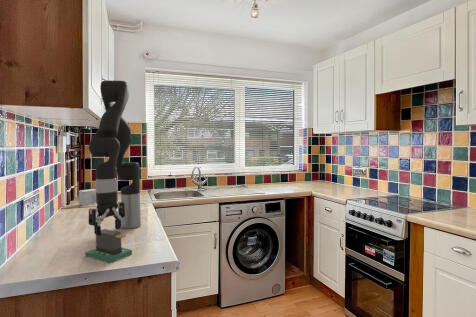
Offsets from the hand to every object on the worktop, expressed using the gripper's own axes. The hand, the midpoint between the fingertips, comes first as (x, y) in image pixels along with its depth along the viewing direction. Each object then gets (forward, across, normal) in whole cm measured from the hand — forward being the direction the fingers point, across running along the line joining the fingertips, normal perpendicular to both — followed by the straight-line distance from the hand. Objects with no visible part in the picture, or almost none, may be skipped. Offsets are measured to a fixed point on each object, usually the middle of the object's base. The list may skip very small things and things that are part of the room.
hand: (108, 232), depth 112 cm
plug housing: (+6, 0, +2) cm, 6 cm away
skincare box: (+10, -56, -97) cm, 112 cm away
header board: (+9, 0, 0) cm, 9 cm away
